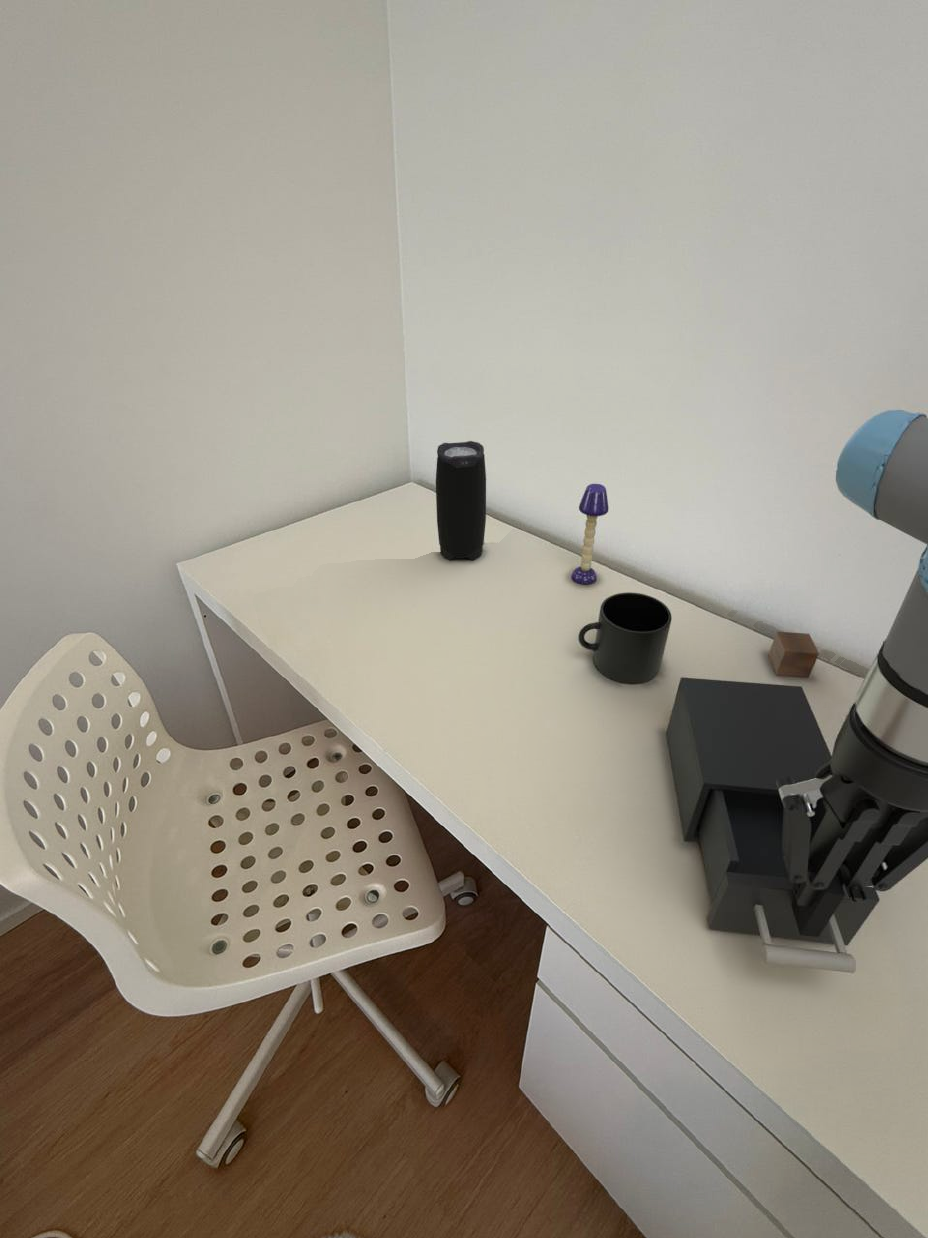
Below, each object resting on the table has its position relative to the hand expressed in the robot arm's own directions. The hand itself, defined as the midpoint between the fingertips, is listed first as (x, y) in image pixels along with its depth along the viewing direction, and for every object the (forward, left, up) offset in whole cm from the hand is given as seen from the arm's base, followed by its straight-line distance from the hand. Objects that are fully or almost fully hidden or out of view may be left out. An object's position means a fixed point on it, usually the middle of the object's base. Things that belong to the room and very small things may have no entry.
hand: (804, 920), depth 55 cm
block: (-12, -42, -7) cm, 45 cm away
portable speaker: (+38, -68, -7) cm, 79 cm away
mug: (+12, -40, -7) cm, 43 cm away
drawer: (0, -6, -6) cm, 9 cm away
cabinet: (0, -19, -7) cm, 21 cm away
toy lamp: (+16, -62, -7) cm, 65 cm away
